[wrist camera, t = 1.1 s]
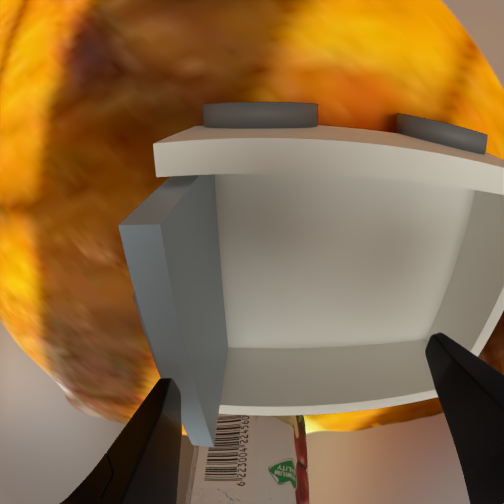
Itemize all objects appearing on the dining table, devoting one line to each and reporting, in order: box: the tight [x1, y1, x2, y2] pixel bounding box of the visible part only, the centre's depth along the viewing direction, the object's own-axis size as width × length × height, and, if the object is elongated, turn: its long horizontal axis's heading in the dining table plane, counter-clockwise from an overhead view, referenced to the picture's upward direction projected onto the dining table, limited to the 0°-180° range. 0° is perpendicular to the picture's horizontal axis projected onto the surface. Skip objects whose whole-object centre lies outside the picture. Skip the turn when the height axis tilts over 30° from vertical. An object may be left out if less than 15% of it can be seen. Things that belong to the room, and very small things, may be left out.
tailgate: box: [118, 174, 228, 447], centre depth 14 cm, size 2×13×8 cm, turn 1°
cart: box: [153, 102, 504, 416], centre depth 17 cm, size 18×18×10 cm
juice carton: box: [186, 414, 309, 504], centre depth 18 cm, size 9×10×27 cm
